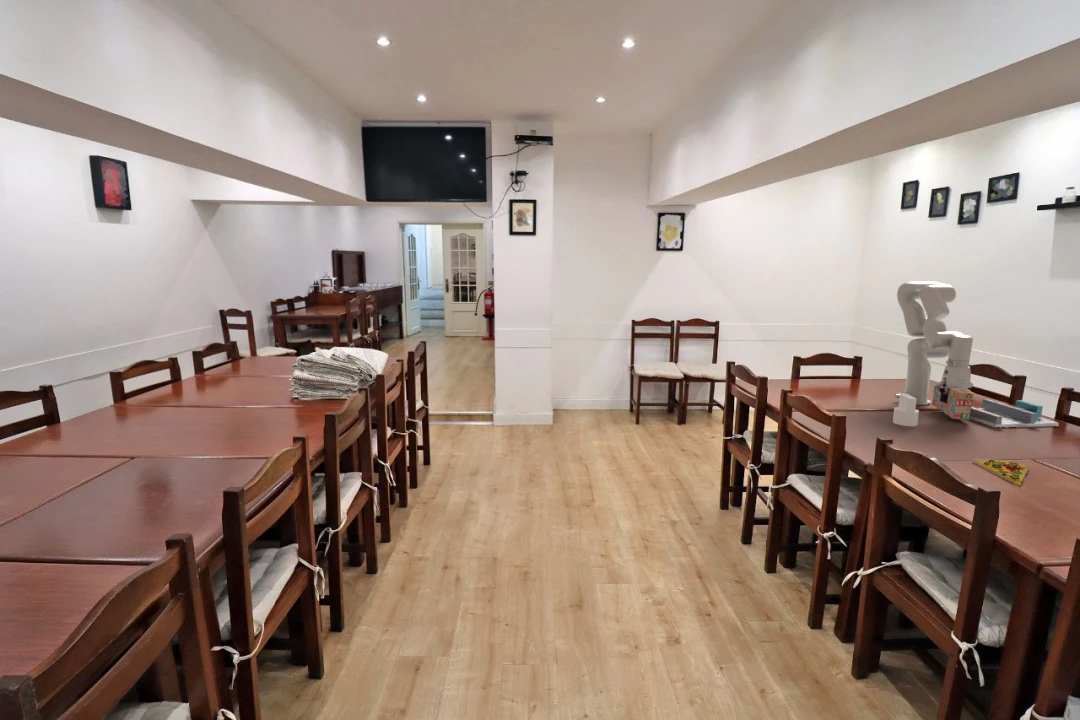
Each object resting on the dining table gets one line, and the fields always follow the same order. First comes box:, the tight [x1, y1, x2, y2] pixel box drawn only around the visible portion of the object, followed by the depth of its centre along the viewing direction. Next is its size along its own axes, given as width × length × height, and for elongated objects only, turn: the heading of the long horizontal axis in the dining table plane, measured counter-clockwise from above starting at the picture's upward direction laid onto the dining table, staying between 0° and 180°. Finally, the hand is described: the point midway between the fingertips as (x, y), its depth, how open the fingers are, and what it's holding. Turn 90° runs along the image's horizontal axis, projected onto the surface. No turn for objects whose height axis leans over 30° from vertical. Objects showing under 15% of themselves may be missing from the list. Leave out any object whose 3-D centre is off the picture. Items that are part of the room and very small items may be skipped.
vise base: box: [969, 406, 1060, 429], centre depth 243 cm, size 28×24×5 cm
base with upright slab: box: [892, 393, 920, 427], centre depth 237 cm, size 9×9×12 cm
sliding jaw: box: [981, 398, 1043, 423], centre depth 243 cm, size 12×24×5 cm, turn 4°
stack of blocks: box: [931, 385, 975, 421], centre depth 246 cm, size 21×6×12 cm, turn 167°
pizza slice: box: [972, 458, 1030, 487], centre depth 182 cm, size 16×21×3 cm
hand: (951, 401), depth 245 cm, fingers closed on stack of blocks, 7 cm apart
